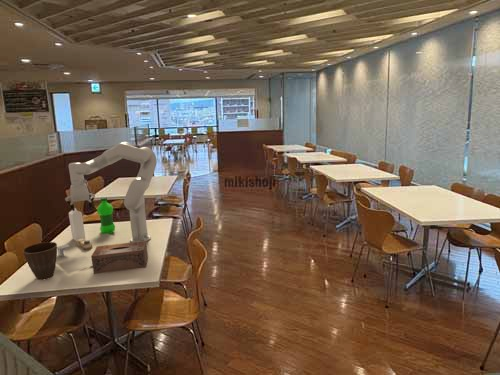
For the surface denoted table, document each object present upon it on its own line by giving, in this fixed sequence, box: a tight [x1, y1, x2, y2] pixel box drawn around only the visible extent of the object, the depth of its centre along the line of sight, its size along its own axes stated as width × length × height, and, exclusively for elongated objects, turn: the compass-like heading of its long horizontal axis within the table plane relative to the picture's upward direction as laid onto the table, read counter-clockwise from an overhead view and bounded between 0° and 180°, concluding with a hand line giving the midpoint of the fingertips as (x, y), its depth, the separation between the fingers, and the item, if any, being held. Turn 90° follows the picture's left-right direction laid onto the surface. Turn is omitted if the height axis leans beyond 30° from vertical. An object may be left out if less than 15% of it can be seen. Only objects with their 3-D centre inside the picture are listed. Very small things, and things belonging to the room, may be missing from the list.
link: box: [76, 238, 93, 251], centre depth 225 cm, size 16×5×4 cm, turn 43°
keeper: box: [57, 243, 71, 258], centre depth 212 cm, size 5×6×6 cm
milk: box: [68, 207, 86, 242], centre depth 239 cm, size 6×6×22 cm
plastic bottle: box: [96, 196, 116, 235], centre depth 250 cm, size 10×10×25 cm
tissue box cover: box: [90, 241, 149, 275], centre depth 196 cm, size 26×14×10 cm, turn 101°
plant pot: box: [22, 241, 58, 281], centre depth 186 cm, size 15×15×16 cm
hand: (82, 209), depth 230 cm, fingers open, 9 cm apart
